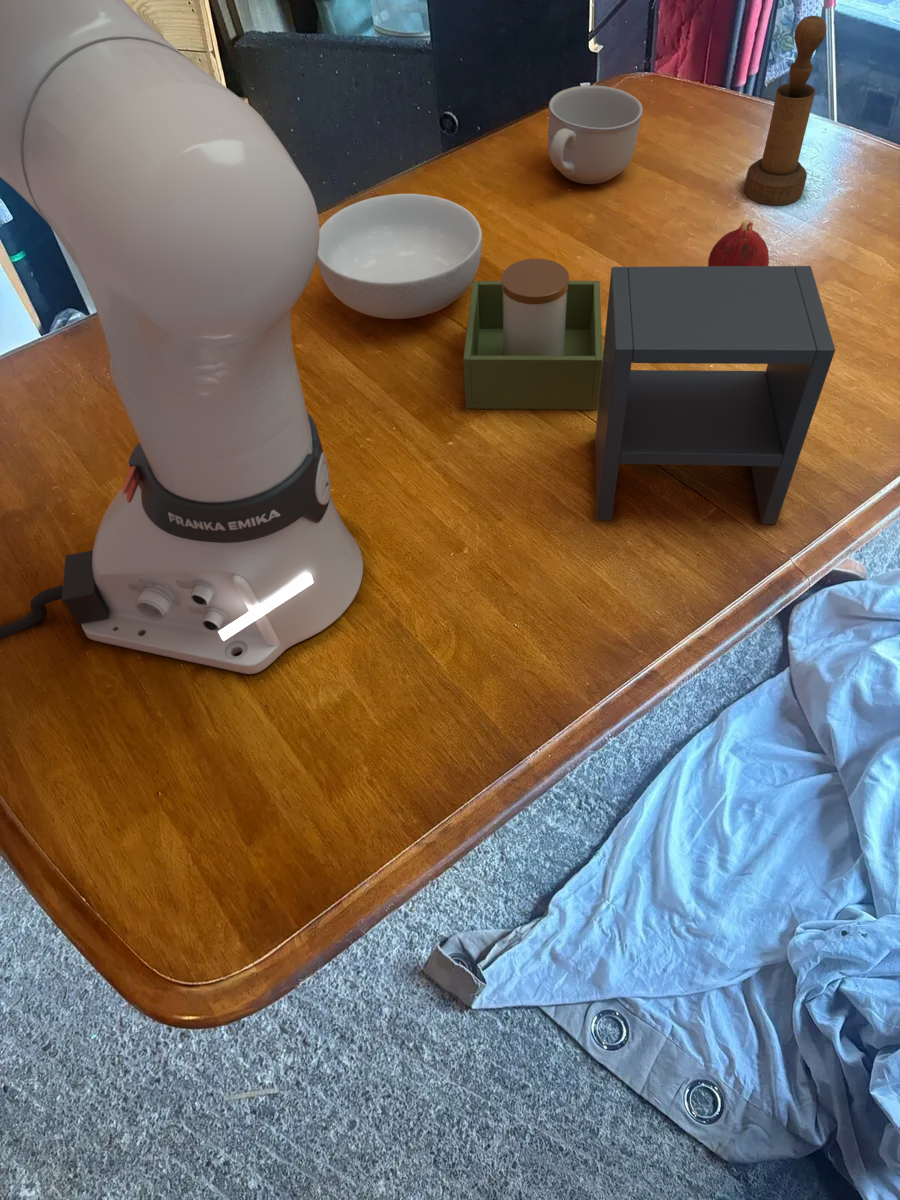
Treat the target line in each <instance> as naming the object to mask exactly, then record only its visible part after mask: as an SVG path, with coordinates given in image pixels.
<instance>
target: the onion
mask: <svg viewBox="0 0 900 1200" xmlns="http://www.w3.org/2000/svg"><path fill="white" fill-rule="evenodd" d="M753 225H754V223H753V222H752V221H751V220H749V219H746V220H744V221H742V222H741V224H740V226H739V227H738V228H736V229H735V230H731V231H729V232H727V233H726V234H724V235H723V236H722V237H720V238H719V240H718V241H717V242H716V243H715V244H714V246H713V247H712V248H711V251H710V253H709V256H708V260H707V266H770V265H769V264H770V255H769V248H768V246H767V243H766V242H765V240H764V239H763V237H762V236H761V235H760V234H759V233H758V232H757V231H756V230H753Z"/></svg>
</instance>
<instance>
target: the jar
mask: <svg viewBox="0 0 900 1200" xmlns="http://www.w3.org/2000/svg"><path fill="white" fill-rule="evenodd" d="M500 279H501V280H500V281H501V287H502V290H503V356H564V347H565V328H566V310H567V291H568V287H569V281H570V274H569V271H568V270H567V268H565V267H564V265H562V264H560V263H558V262H557V261H554V260H551V259H547V258H527V259H526V258H525V259H522V260H519V261H516V262H514V263H512V264H510V265H508V266H507V267H505V269H504V270H503V272H502V274H501V278H500Z"/></svg>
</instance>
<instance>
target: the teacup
mask: <svg viewBox="0 0 900 1200" xmlns="http://www.w3.org/2000/svg"><path fill="white" fill-rule="evenodd" d="M548 111H549V116H548V128H547V129H548V130H547V152H548V157H549V159H550V162H551V164H552V165H553V167H554V168H556V169H557V170H558V171H559V172H560V174H561V175H563V176H564V177H565V178H566V179H568V180H570V181H572V182H575V183H578V184H583V185H596V184H597V185H598V184H603V183H605V182H608V181H610V180H613V178H614V177H616V176H618V175H619V174H621V173H622V172H623V171H625V170H626V169H627V167H629V165H630V163H631V161H632V159H633V157H634V153H635V151H636V146H637V145H636V144H637V140H638V137H639V130H640V123H641V119H642V116H643V114H644V113H643V112H644V106H643V104H642V102H641V101H640V100H639V99H638V98H637V97H635V96H634V95H633V94H631V93H629V92H626V91H624V90H623V89H619V88H616V87H615V88H614V87H611V86H605V85H578V86H573V87H569V88H565V89H563V90H561V91H558V92H557V93H556V94H554V95H553V97H551V98H550V100H549V103H548Z"/></svg>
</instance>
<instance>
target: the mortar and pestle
mask: <svg viewBox="0 0 900 1200" xmlns="http://www.w3.org/2000/svg"><path fill="white" fill-rule="evenodd" d="M826 34H827V25H826V22H825V20H824V18H823V17H821V16H819V15H808V16H805V17H804V18H801V20H800V21H799V22H798V23H797V26H796V27H795V30H794V35H793V38H794V43H795V47H796V51H797V55H796V59H795V61H794V62H792V63H791V64H790V67H789V82H788V83H784V84H782V85H780V86H779V87H778V88H777V89H776V93H775V97H774V102H773V107H772V113H771V118H770V122H769V127H768V132H767V136H766V137H767V138H766V142H765V144H764V145H765V146H764V150H763V154H762V157H761V158H760V159H757V160H756V161H755V162H753V163H752V164H751V165H750V166H749V167H748V169H747V173H746V176H745V181H744V186H743V192H744V194H745V195H746V196H747V197H748V198H749V199H750V200H752V201H754V202H756V203H758V204H761V205H767V206H786V205H789V204H793V203H795V202H797V201H798V200H800V199H801V198H802V196H803V194H804V190H805V185H806V181H807V177H808V173H807V170H806V169H805V168H804V167H803V166H802V164H801V163H800V162H799V160H800V156H801V151H802V148H803V142H804V138H805V135H806V130H807V126H808V123H809V119H810V114H811V110H812V107H813V103H814V99H815V95H816V89H815V88H814V86H813V85H811V84H808V80H809V79H810V76H811V74H812V72H813V70H814V65H813V64H812V58H813V54H814V53H815V52H816V50H817V49H818V48H819V47H820V45H821V44H822V43H823V41H824V39H825V37H826Z"/></svg>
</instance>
